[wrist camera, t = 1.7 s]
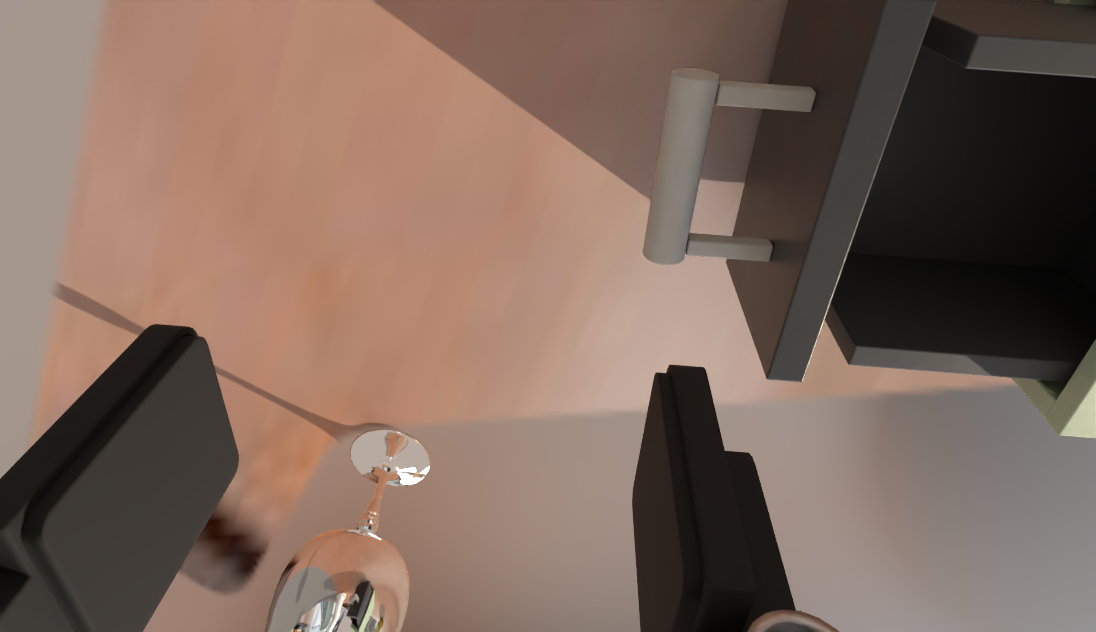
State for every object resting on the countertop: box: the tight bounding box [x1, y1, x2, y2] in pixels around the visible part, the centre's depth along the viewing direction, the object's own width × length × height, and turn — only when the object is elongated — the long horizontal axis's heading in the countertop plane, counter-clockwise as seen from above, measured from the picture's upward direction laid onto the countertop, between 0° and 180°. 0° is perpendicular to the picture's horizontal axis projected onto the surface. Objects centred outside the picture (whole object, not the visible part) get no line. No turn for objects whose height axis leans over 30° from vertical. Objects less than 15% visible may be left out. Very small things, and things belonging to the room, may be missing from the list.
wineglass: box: [265, 429, 430, 632], centre depth 32 cm, size 6×6×12 cm
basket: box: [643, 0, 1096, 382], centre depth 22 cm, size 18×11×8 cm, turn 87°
